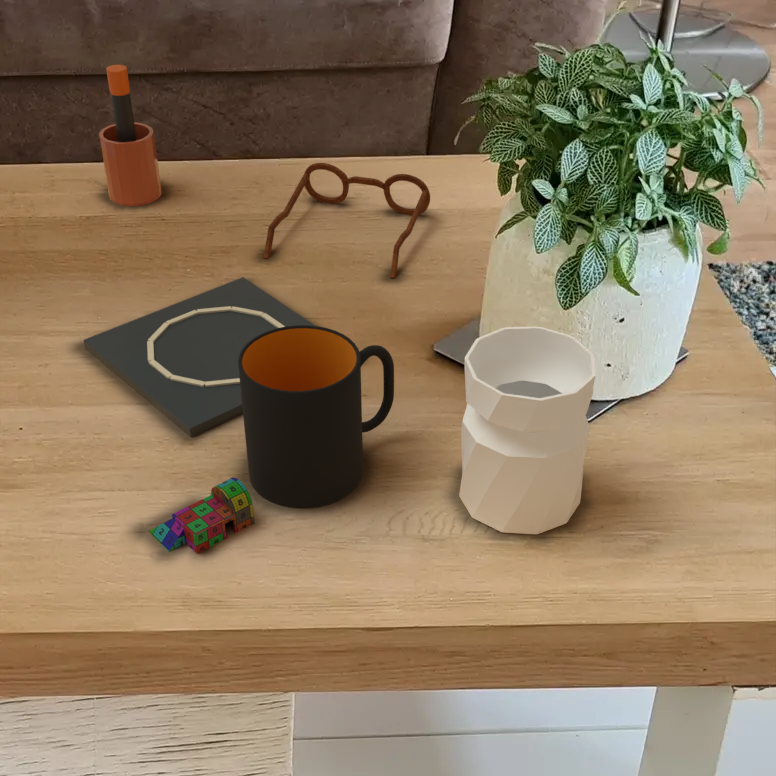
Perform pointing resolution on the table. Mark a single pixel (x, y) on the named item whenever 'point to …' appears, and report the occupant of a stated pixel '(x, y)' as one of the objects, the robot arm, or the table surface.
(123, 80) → the marker
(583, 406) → the vase
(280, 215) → the glasses
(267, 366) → the mug
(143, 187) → the pen cup
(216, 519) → the toy block structure
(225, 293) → the board
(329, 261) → the table surface
